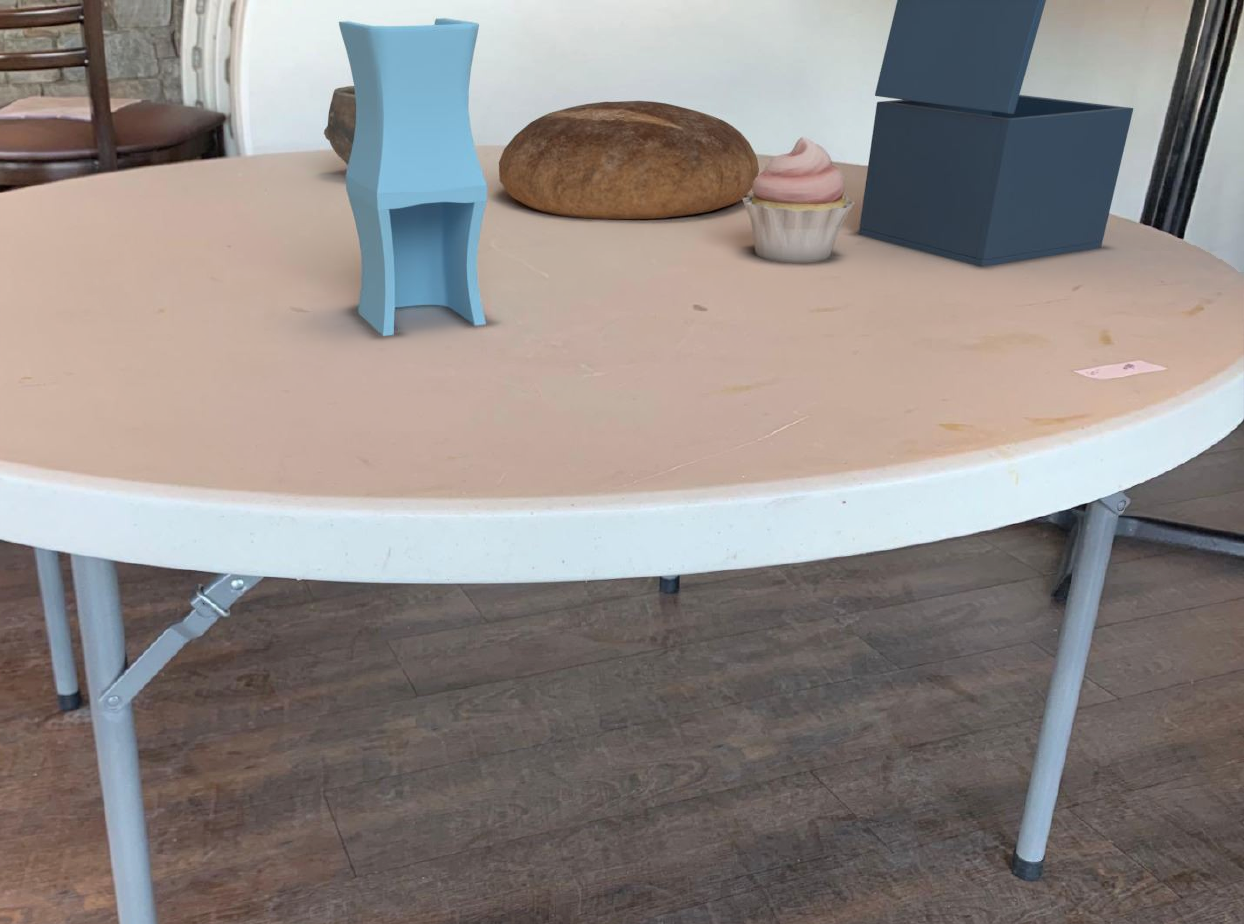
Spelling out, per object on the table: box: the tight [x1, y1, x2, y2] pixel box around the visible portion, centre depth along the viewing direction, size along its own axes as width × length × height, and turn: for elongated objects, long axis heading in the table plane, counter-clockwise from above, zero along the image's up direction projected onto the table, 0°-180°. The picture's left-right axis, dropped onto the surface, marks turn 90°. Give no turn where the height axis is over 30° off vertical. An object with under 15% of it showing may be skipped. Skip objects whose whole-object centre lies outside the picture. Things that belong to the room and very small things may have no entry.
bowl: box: [323, 85, 356, 166], centre depth 142 cm, size 14×15×10 cm
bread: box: [498, 100, 760, 220], centre depth 128 cm, size 26×27×10 cm
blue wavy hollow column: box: [338, 17, 488, 337], centre depth 86 cm, size 8×8×20 cm
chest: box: [858, 94, 1134, 268], centre depth 108 cm, size 15×15×12 cm
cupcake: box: [741, 136, 855, 264], centre depth 104 cm, size 9×9×10 cm
